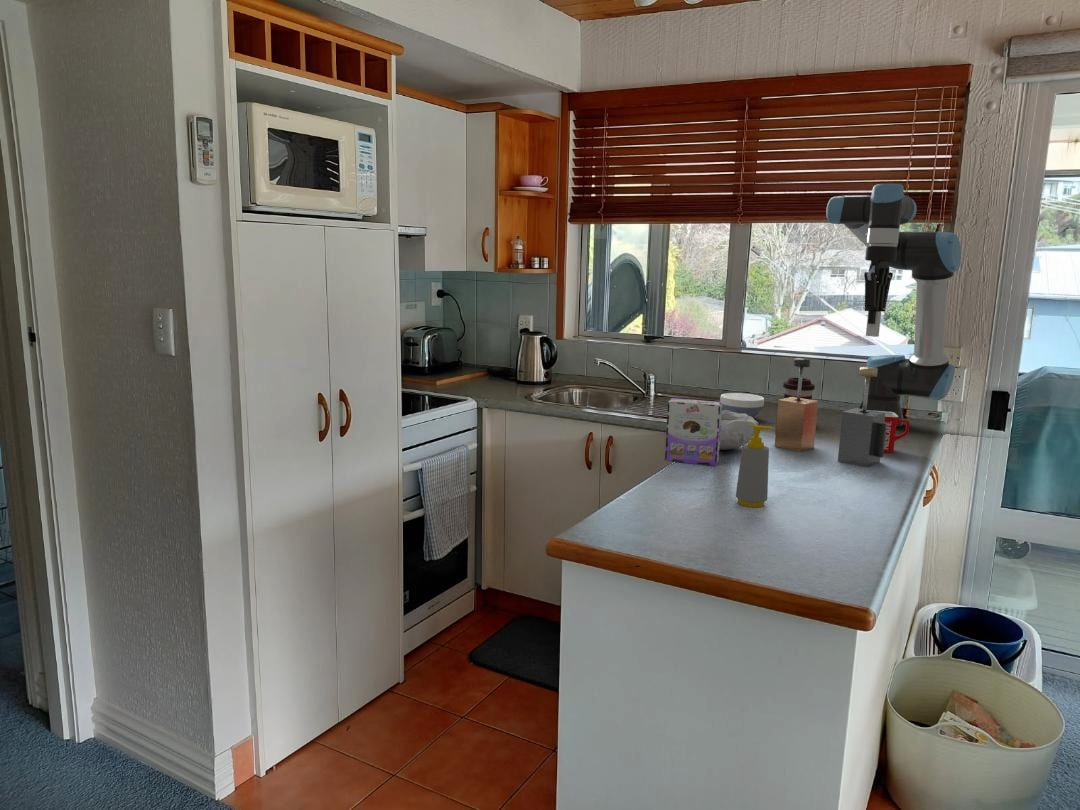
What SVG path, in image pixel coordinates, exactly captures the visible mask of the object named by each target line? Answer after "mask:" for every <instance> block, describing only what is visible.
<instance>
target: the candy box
mask: <svg viewBox="0 0 1080 810" xmlns="http://www.w3.org/2000/svg"><path fill="white" fill-rule="evenodd" d="M722 411H723V407H722V402H720V401H715V400H714V401H712V400H700V399H688V398H677V397H676V398H675V397H672V398H670V399H669V400H668V401H667V414H666V432H665V433H666V434H665V452H664V461H665V462H672V463H683V464H693V465H703V466H704V465H705V466H714V467H715V466H716V467H717V465H718V463H719V458H720V449H719V447H720V433H721V414H722Z"/></svg>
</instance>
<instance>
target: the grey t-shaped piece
mask: <svg viewBox="0 0 1080 810" xmlns="http://www.w3.org/2000/svg"><path fill="white" fill-rule="evenodd" d="M793 366H794V367H799V370H798V372H799V373H798V378H799V380H798V391H797V401H800V398H801V387H802V378H803V376H804V375H803V374H804V368H810V367H811V359H810V358H803V357H794V359H793Z"/></svg>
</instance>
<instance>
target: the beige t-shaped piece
mask: <svg viewBox="0 0 1080 810" xmlns="http://www.w3.org/2000/svg"><path fill="white" fill-rule="evenodd" d="M877 370H878V369H877V368H872V367H866V366H860V367H859V373H858V375H859V376H861V377H865V376H866V380H865V379H864V381H865V389H864V388H863V391H864V398H863V397H862V399H863V408H862V413H866V408H867V399H868V389H869V380H870V377H877Z"/></svg>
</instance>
